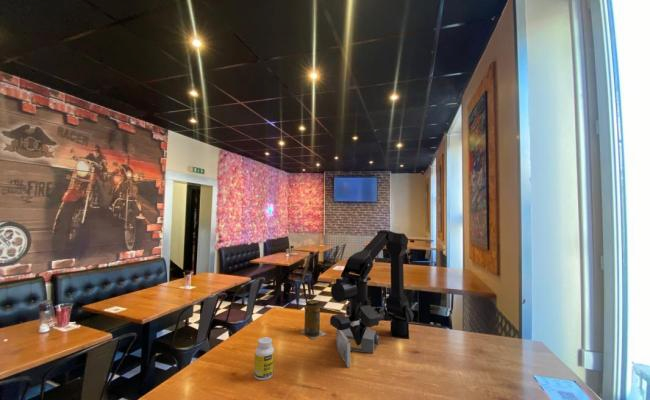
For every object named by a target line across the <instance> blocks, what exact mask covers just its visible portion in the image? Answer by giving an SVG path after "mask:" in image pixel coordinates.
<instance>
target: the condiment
mask: <svg viewBox="0 0 650 400" xmlns="http://www.w3.org/2000/svg"><path fill="white" fill-rule="evenodd" d="M320 318H321V309H320V302H319V300H316V299H309V300H306V301H305V308H304V330H300V331H299V333H301V334H303V336H306V337H308V338H309V339H311V340H312V339H313V340H314V339H317V338H320V337H324V336H325V335H327V333H326V332H324V331H322V330H321V328H320V326H321V325H320V323H321V319H320Z"/></svg>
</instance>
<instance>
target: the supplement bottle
mask: <svg viewBox="0 0 650 400" xmlns="http://www.w3.org/2000/svg"><path fill="white" fill-rule="evenodd" d="M274 357H275V348H274V346H273V339H272V338H271V337H267V336H264V337H260V338H259V339H258V340H257V347H256V348H255V350H254V364H253V365H254V366H253V367H254V369H253V376H254V378H255V379H256V380H259V381H265V380H269V379H271V377H272V376H273V375H274V364H275V363H274V362H275V360H274V359H275V358H274Z"/></svg>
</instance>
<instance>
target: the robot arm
mask: <svg viewBox="0 0 650 400" xmlns="http://www.w3.org/2000/svg"><path fill="white" fill-rule="evenodd" d="M408 243H409V238H408V236H407V235H406V233H403V232H394V231H391V230H387V229H386V230H385V229H380V230H378V231H377V233H376V235H375V236H374V237H373V238H372V239H370V241H369V242H368V244H367V245H366V246H365V247H364V248H363V249H362V250H360V251H358V252H355V253H353V254H352V255H350V256H349V257H348V258H347V260H346V263H345V265H344V268H343V270H342V271H341V274H340V277H337V278H336V279H335V282H334V283H333V284H332V286H331V288H330V294H331V295H330V296H331V298H333V300H334V301H335V302H337V303H342V302H344V301H347V302H349V309H348V310H347V316H346V315H344V314H342V313H336V314H333V315H331V317H330V318H329V325H330V326H332V327H334V328H335V329H336V330H337V329H338V330H345V329H349V328H350V330H351V332H352V335H353V337H354V340H355V342H356V344H357V345H360V344H361V341H362V338H363V335H364V333H365V330H366V329H367V328H372V327H375V326H379V323H380V322H381V321H385V319H386V314H387V317H388V318H391V320H390V333H391V336H392V337H394V338H395V337H396V338H402V339H410V330H409V328H410V327H409V326H410V324H409V323H412V322H413V320H414V314H415V313H414V312H413V311H412V309H411V308H410V305H409V299H408V298H407V296H406V293H405V289H404V288H405V286H404V285H405V283H404V281H405V279H404V278H405V276H404V275H405V274H404V255H405V253H406V252H407V250H408V245H409V244H408ZM384 248H385V249H386V251H387V253H388V254H389V256H390V257H389V259H390V263H389V264H390V293H389V295H388V296H387V297H385V309H386V313H385V311H384V308H383V307H382V306H377V307H376V306H371V301H370V299H368V282H369V281H371V280H372V279H371V277H370V276H369V274H370V272H371V271H372V268H374V260H375V258H376V257H378V255H379V254H380V253H381V252H382V250H383V249H384ZM348 315H349V316H348Z"/></svg>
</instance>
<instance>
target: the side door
mask: <svg viewBox="0 0 650 400" xmlns="http://www.w3.org/2000/svg"><path fill="white" fill-rule="evenodd" d="M336 350H337V351H338V354H339V355H340V357H341V358H342V360H343V362H344V364H345V367H347V368H350V367H351V350H350V342H349V340H348V339H347V337H346V336H345V334H344V333H343V332H342V330H338V339H337V338H336Z"/></svg>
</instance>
